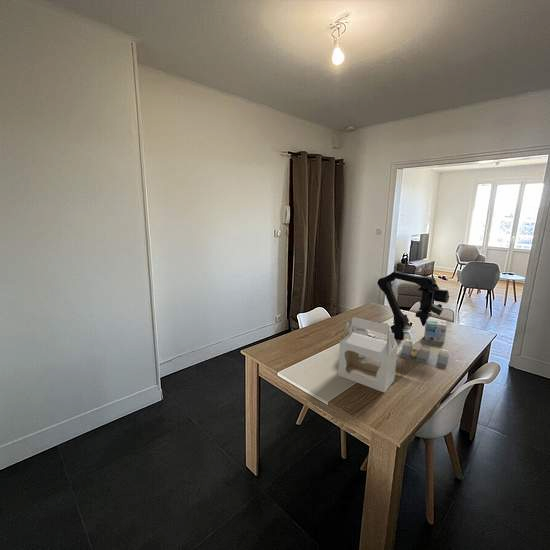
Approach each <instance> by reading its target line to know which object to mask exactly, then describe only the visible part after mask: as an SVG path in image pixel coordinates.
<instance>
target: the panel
mask: <svg viewBox="0 0 550 550" xmlns="http://www.w3.org/2000/svg"><path fill="white" fill-rule="evenodd" d="M411 350H414V349H413V345H412V347H411V348H408V347H404V346H403V345H402V347H401V349H400V350H399V352H397V356H398V357H401V358H403V359H407V360H411V361H415V362H419V363H422V364H426V365H430V366H432V367H435V368H436V367H437V368H440V369H443V370H447V371H448V370H450V366H451V364H452V361H453V360H452V358H451V359H450V358H449V356H450V355H449V356H448V357H442V356H440V355H439V353H438V355H435V354H432V353H431V351H430V352H423V351H421V350H420V349H419V350H417V359H411V358H410V355H411Z"/></svg>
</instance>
